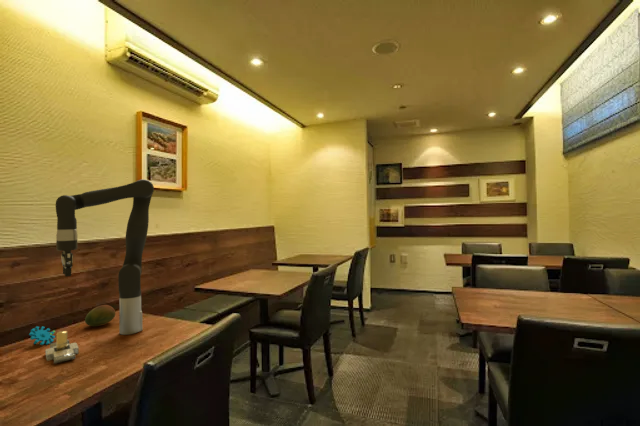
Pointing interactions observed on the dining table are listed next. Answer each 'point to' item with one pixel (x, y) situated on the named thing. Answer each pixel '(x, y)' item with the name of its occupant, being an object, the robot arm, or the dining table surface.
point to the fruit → (100, 315)
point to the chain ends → (62, 352)
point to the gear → (42, 335)
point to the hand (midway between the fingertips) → (67, 275)
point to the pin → (61, 340)
